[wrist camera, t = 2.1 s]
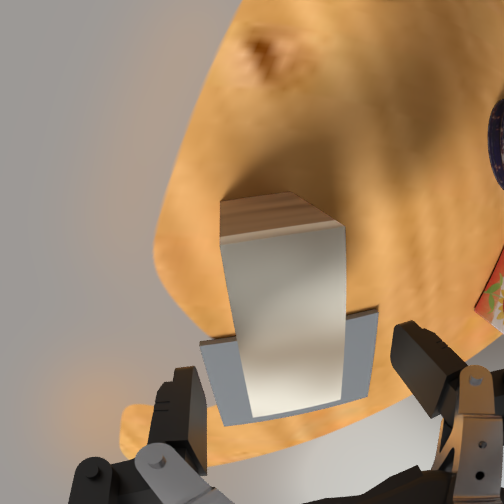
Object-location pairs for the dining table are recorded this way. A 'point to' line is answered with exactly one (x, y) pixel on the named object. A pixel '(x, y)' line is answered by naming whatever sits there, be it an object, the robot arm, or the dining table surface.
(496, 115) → the storage jar
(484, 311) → the cracker box
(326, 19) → the dining table surface
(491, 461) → the robot arm
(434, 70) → the dining table surface
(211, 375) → the mat
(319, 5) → the dining table surface
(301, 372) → the brown and white block
